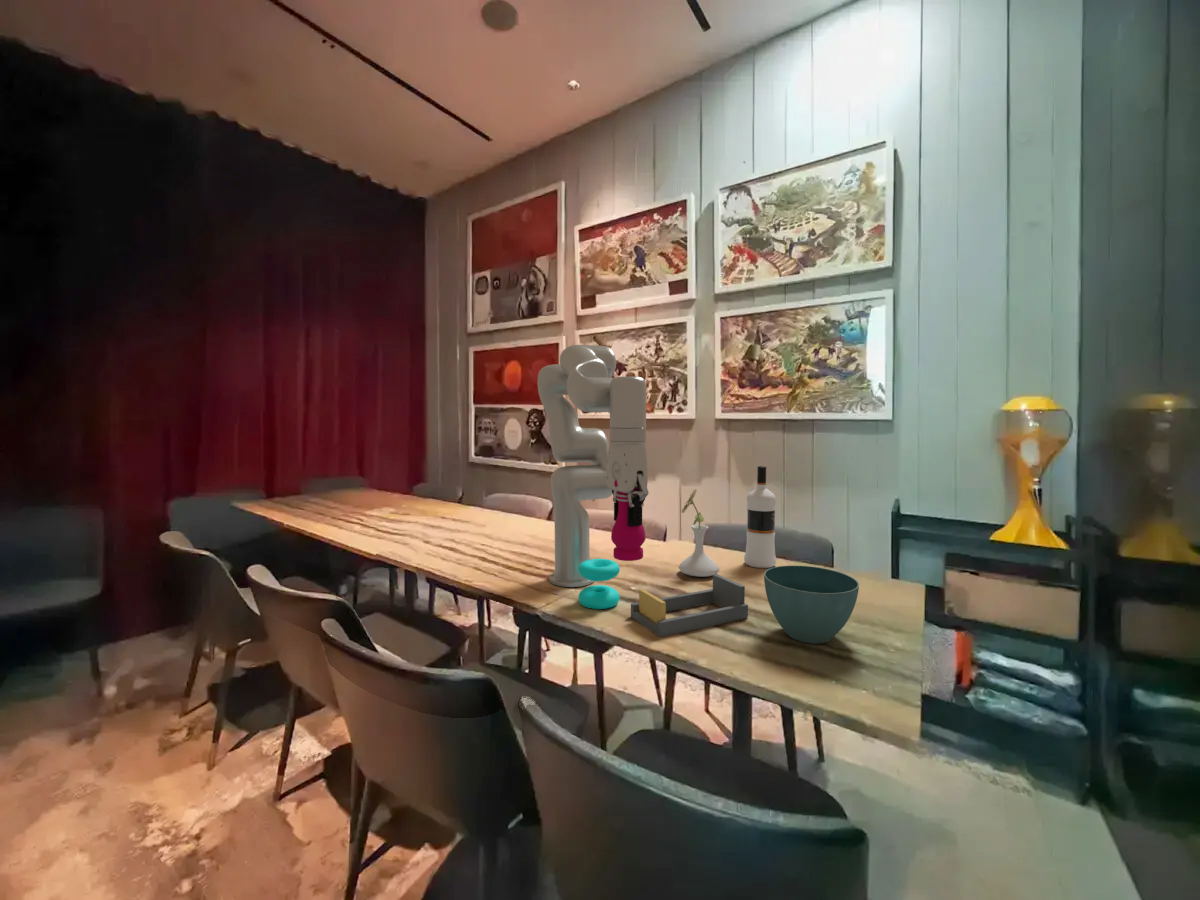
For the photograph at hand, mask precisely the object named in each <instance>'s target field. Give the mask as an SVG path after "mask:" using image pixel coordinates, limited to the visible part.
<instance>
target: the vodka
mask: <svg viewBox="0 0 1200 900" xmlns="http://www.w3.org/2000/svg"><path fill="white" fill-rule="evenodd" d="M756 477H757V479H756V480H757V481H756V488H755V489H753V490H751V491H750V492H749V493H748V494H747V496H746V502H747V503H746V509H747V511H746V512H747V516H746V517H747V519H746V522H747V523H746V547H745V554H744V555H743V556H744V557H743V558H744V559H743V560H744V562H745V563H744V564H745V565H747V566H748V565H749V567H751V568H754V569H755V568H756V569H770V568H773V567H774V566H775V567H776V564H777V557H776V549H775V546H776V545H775V536H776V532H775V531H776V529H775V528H776V527H775V525H776V523H775V521H776V515H775V514H776V509H777V507H776V502H777V497H776V495H775V493H773V492H772V491H771V490H769V489H768V488H767V466H765V465H760V466H757V476H756Z"/></svg>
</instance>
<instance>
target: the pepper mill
mask: <svg viewBox="0 0 1200 900" xmlns="http://www.w3.org/2000/svg"><path fill="white" fill-rule="evenodd" d="M617 480H618V479H617ZM617 480H615V482H614V486H615V487H618V483H617ZM632 491H638V488H634V489H633V490H632ZM616 495H617V498H616V500H618V504H619V510H618V516H617V519H616V521H614V524H613V527H612V530H611V536H610V540H611V542H612V543H613V544H614V546H615V547H614V548H613V558H614V559H615V560H618V561H623V562H633V561H640V560H642V559H643V558H644V548H643V547H641V546H643V545H644V543H645V541H646V537H647V536H646V530H645V527H644V526H643V524H642V525H641V526H632V527H629V526H628V525H627V507H630V506H629V500H628V493H623V492H619V491H618V493H617V494H616ZM635 496H636V495H633V499H634V498H635Z"/></svg>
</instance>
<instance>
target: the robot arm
mask: <svg viewBox="0 0 1200 900" xmlns="http://www.w3.org/2000/svg"><path fill="white" fill-rule="evenodd" d="M616 367H617V359H616V355H615V353H614V351H613V350H612V349H611V348H610V347H608V346H605V345H593V344H572V345H570V346H569V345H568V346H567V347H565V348H564V349H563V351H562V352H561V353H560V355H559V363H558V364H557V363H556V364H547V365H545V366H542V368H540V370H539V371H538V375H537V391H538V395H539V400H540V403H541V404H542V406H543V407H542V408H543V409H544V412H545V413H546V417H547V418H546V419H547V422H548V423H547V424H548V431H549V437H550V447H551V452H552V456H553V458H554V459H555V460H556V461H557V462H560V463H590V465H589V464H586V465H585V464H583V465H582V464H581V465H578V464H577V465H566V466H565V465H564V466H561V467H558V468H556V469H555V470H553V472H552V474H551V475H550V487H551V489H550V490H551V494H552V500H553V511H554V513H553V515H554V516H553V517H554V520H553V521H554V572H552V573H551V574H550V575H549V577H548V578H549V583H550V584H552V585H555V586H558V587H563V588H579V587H584V586H589V585H591V584H593V583H594V582H595V581H592V580H588V579H585V578H583V577H582V576H581V575H580V574H579V571H578V568H579V565H580V564H581V563H582V562H584V561H586V560H590V558H591V557H590V516H589V514H588V512H587V510H586V509H585V507H584V506H583V505H582V503H581V502H582V501H587V500H588V501H591V500H604V499H608V498H610V497H612V502H613V521H614V522H616V519H617V516H618V510H619V504H618V500H616V498H617V495H616V494H617V493H618V491H619V492H623V493H628V500H629V506H630V507H627V525H628V526H629V527H632V526H641V525H643V507H644V505H645V501H646V500H645V499H646V498H647V496H648V495H649V493H650V492H649V489H648V480H649V479H648V478H649V477H648V474H649V473H648V472H649V471H648V455H647V449H646V444H647V383H646V379H644V378H643V377H641V376H632V375H631V376H626V375H625V376H624V375H623V376H616V377H613V375H614V374H615V371H616ZM564 396H568V398H569V400H570V401H569V400H568V399H566V398H565V397H564ZM575 407H576V408H577V410H580V411H581V412H585V413H609V439H608V437H607V435H606V433H605V432H604V431H603V430H602V429H600V428H597V427H596V428H595V427H591V428H590V427H589V428H588V427H584V428H583V427H581V426H580V423H579V417H578V412H577V410H576V408H575ZM617 479H618V480H617ZM615 480H617V483H618V487H615V486H614V482H615ZM634 488H638V491H632V490H633V489H634ZM633 495H636V496H635V498H634V499H633Z"/></svg>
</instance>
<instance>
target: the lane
mask: <svg viewBox="0 0 1200 900" xmlns="http://www.w3.org/2000/svg"><path fill="white" fill-rule="evenodd" d="M745 588H746V586H745V585H743V584H741V583H739V582H736V581H734V580H732V579H729V578H727V577H724V576H723V575H720V574H718V573H717V574H714V575H712V588H709V589H706V590H705V589H704V590H700V591H693V592H687V593H683V594H677V595H671V596H665V597H661V598H659V597H658V598H659V599H661V600H663V601H664V602H666V613H667V612H668V611H669V612H673V611H672V610H674V611H678V610H677V609H679V610H683V609H682V608H684V609H687V608H688V607H689V608H693V607H692V606H694V607H698V606H697V605H700V606H703V605H702V604H705V605H708V604H707V603H710V604H713V603H715V604H716V606H717V605H719V606H721V607H722V608H721V607H719V606H718V607H719V608H715V609H711V610H704V611H699V612H695V613H690V614H685V615H680V616H675V617H670V618H666V619H664V620H659V621H657V623H655V622H654V621H652V620H651V619H649V618H648V617H646V616H645V615H643V614H642V613H640V612H639V601H638V602H637V601H636V602H632V603H630V617H631V618H632V617H633V618H632V619H634V620H635V621H636V620H637V622H638V623H639V622H640V624H641V625H642V626H644V627H645V628H646V629H648V630H650V632H651V633H653V634H655V635H656V636H658V637H659V638H661V637H667V636H671V635H676V634H680V633H685V632H690V630H691V631H695V630H700V629H704V628H708V627H713V626H717V625H722V623H723V624H726V622H728V623H731V621H732V622H735V621H734V620H737V621H739V620H738V619H741V620H743V619H742V618H746V619H748V618H749V605H748V604H747V603H745V601H746V600H745V599H746V598H745V594H746V591H745V590H746V589H745ZM712 602H713V603H712ZM715 604H714V605H715ZM747 617H748V618H747ZM699 628H700V629H699Z"/></svg>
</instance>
